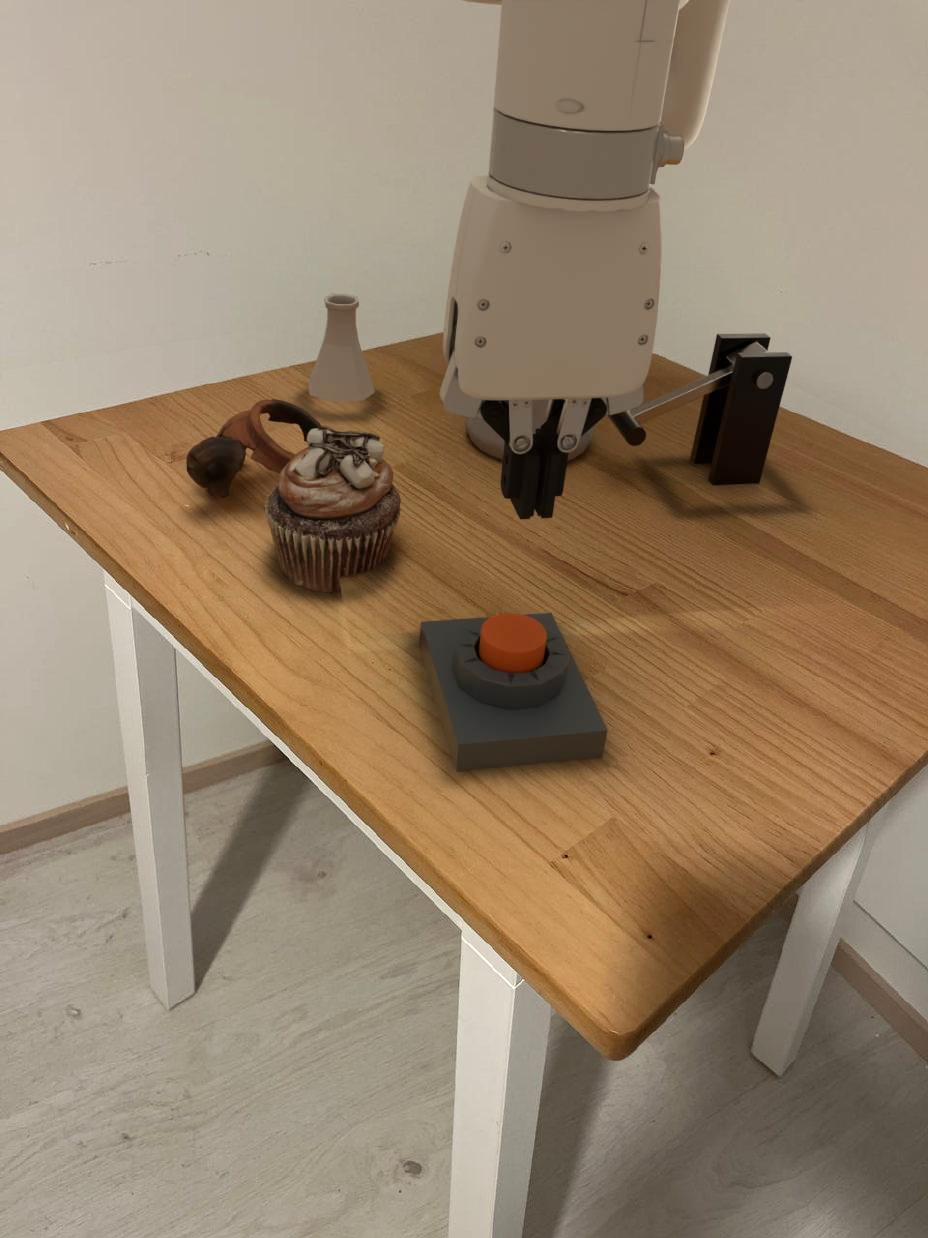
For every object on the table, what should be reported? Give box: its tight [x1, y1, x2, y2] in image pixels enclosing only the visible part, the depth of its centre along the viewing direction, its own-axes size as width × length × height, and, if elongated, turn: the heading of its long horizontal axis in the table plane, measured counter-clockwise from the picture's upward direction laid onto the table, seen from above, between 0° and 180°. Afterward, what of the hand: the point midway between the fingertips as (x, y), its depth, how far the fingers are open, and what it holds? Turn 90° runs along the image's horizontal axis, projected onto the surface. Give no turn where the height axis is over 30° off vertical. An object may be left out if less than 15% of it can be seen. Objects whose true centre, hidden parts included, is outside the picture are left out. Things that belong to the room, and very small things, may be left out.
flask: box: [307, 293, 376, 403], centre depth 99 cm, size 7×7×10 cm
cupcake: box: [263, 425, 402, 593], centre depth 77 cm, size 10×10×10 cm
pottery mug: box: [185, 398, 323, 500], centre depth 85 cm, size 12×10×8 cm
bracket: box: [690, 332, 793, 486], centre depth 90 cm, size 11×9×13 cm
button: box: [479, 612, 547, 674], centre depth 65 cm, size 4×4×2 cm
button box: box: [418, 612, 608, 772], centre depth 67 cm, size 12×9×4 cm
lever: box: [606, 342, 769, 447], centre depth 88 cm, size 13×6×2 cm, turn 102°
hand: (529, 505), depth 60 cm, fingers closed
